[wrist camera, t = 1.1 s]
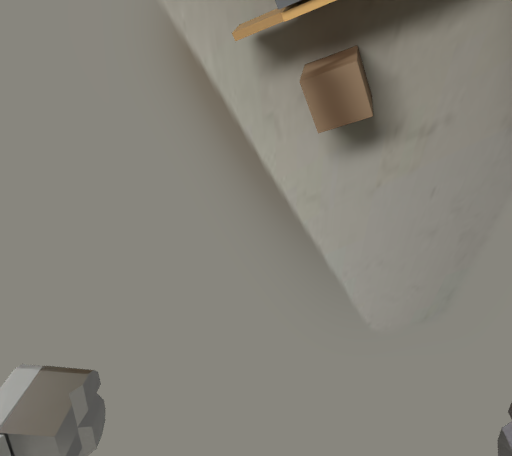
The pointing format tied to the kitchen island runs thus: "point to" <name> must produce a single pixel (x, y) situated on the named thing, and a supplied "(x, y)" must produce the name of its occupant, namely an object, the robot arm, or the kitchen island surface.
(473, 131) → the kitchen island surface
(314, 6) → the side door
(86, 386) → the robot arm
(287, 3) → the grey box
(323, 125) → the walnut block
